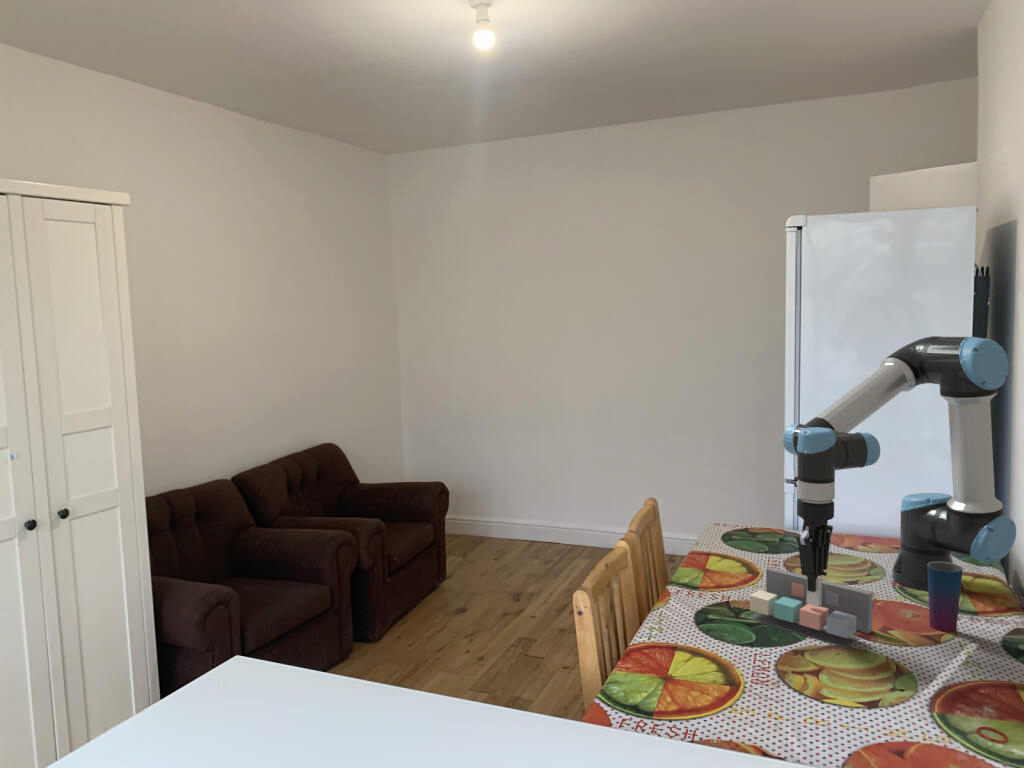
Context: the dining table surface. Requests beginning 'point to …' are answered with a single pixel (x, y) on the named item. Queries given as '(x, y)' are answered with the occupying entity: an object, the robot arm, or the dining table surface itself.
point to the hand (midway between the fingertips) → (813, 604)
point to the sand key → (762, 602)
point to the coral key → (813, 616)
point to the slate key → (841, 624)
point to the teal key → (787, 609)
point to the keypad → (832, 598)
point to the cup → (944, 595)
